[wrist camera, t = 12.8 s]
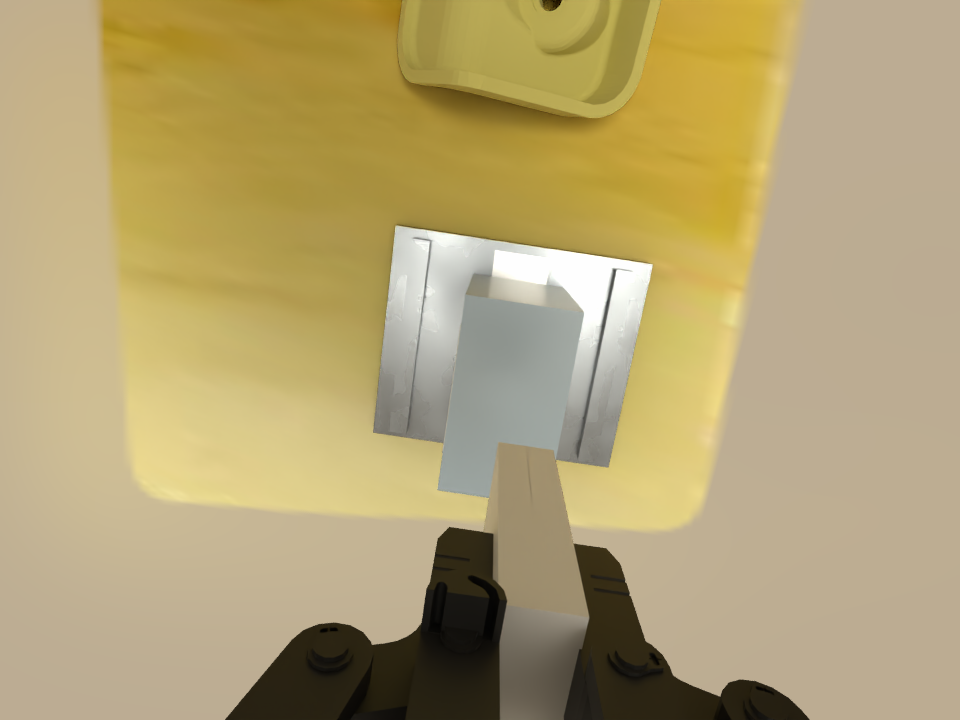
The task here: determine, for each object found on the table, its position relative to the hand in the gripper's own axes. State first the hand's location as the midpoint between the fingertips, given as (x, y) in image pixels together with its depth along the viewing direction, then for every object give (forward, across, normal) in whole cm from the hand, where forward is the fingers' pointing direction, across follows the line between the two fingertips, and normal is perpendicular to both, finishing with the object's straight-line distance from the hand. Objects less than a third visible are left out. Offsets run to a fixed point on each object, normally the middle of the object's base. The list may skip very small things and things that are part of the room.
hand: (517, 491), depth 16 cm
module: (+18, 0, -1) cm, 18 cm away
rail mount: (+19, 0, -1) cm, 19 cm away
